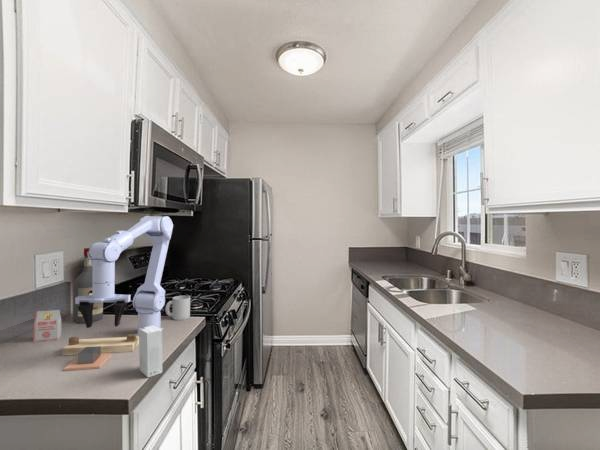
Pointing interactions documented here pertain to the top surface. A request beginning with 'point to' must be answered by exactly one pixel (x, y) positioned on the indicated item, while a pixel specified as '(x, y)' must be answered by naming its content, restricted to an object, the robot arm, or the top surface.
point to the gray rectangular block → (89, 355)
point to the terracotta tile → (95, 365)
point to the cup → (179, 308)
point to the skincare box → (150, 350)
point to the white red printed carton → (47, 325)
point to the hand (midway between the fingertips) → (103, 326)
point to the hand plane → (102, 344)
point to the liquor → (85, 291)
